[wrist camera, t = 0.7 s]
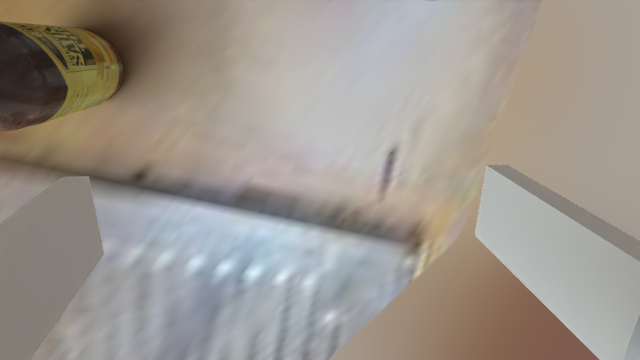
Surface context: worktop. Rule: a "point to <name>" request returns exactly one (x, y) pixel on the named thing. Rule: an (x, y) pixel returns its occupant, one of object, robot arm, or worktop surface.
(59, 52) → the sauce bottle
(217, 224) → the worktop surface
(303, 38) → the worktop surface
